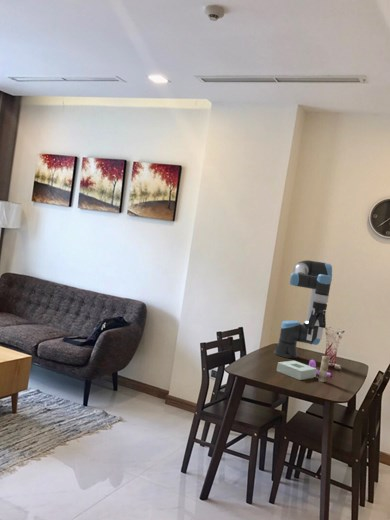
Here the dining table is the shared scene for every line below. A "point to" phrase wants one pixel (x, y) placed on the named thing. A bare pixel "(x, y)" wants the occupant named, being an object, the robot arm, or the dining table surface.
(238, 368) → the dining table surface
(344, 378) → the dining table surface
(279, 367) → the socket block
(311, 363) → the bracket
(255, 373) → the dining table surface
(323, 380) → the peg
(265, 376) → the dining table surface
